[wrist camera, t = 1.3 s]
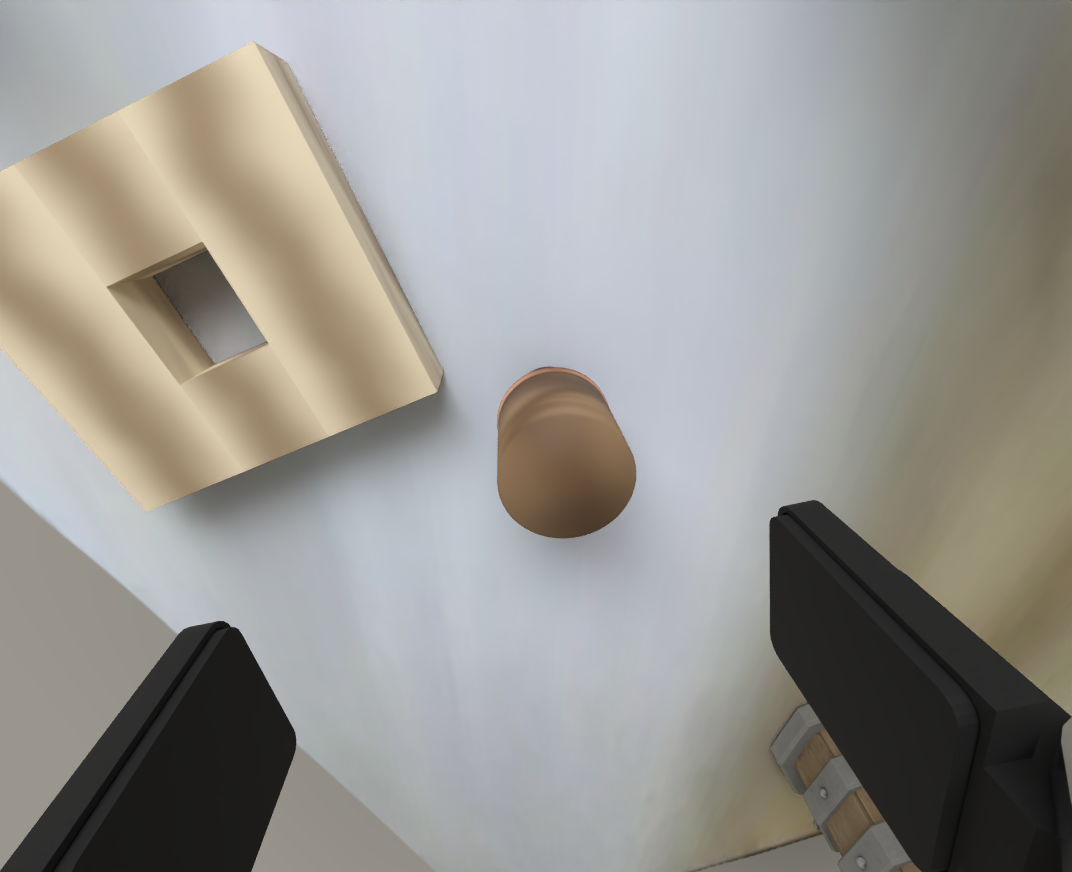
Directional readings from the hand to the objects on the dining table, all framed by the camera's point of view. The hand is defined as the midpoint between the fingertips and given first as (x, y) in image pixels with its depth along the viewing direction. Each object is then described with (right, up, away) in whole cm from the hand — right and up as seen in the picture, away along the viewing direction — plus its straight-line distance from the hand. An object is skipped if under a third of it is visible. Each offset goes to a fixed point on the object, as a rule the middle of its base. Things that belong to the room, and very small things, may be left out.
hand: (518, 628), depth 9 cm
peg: (+1, +6, +22) cm, 23 cm away
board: (-16, +11, +19) cm, 27 cm away
